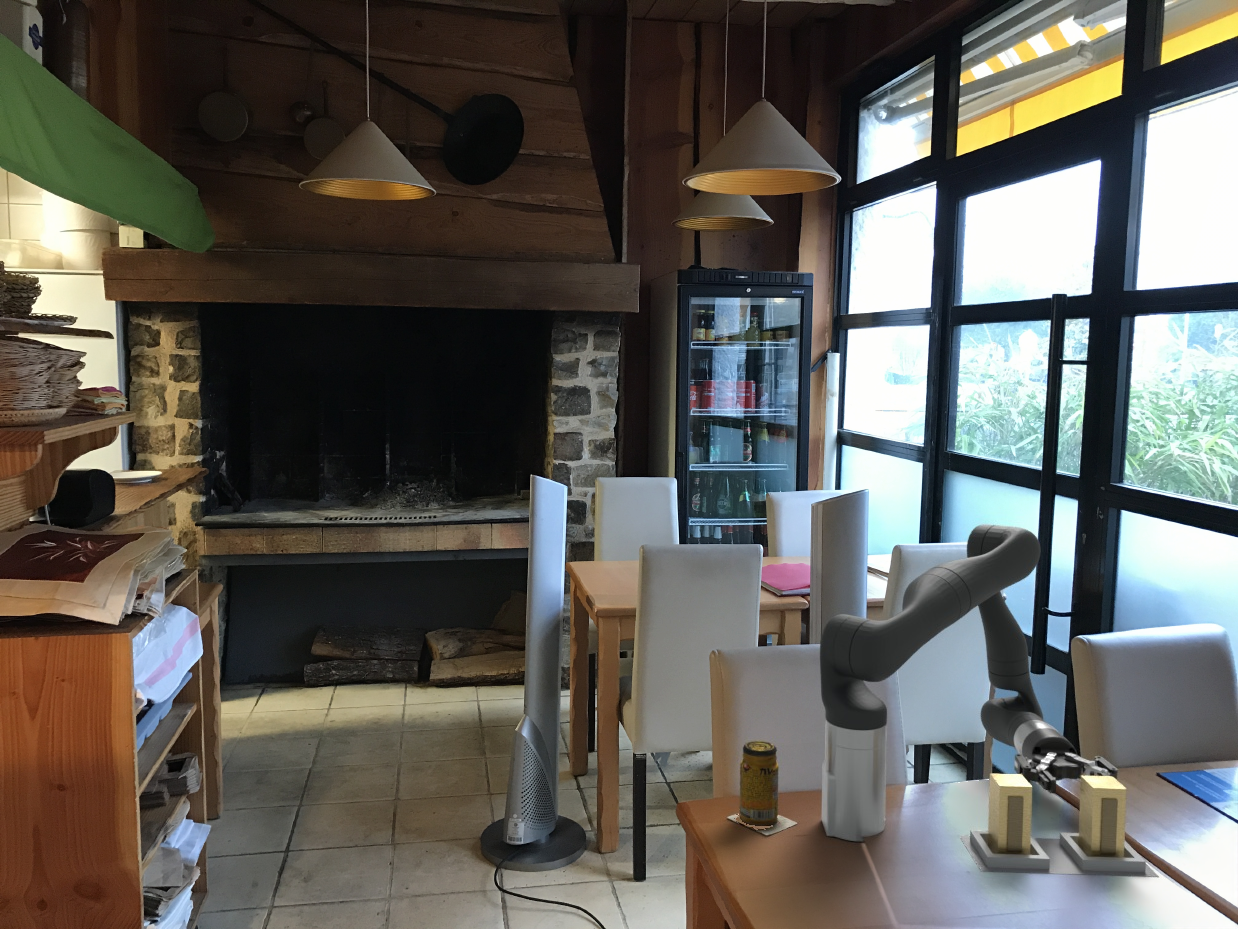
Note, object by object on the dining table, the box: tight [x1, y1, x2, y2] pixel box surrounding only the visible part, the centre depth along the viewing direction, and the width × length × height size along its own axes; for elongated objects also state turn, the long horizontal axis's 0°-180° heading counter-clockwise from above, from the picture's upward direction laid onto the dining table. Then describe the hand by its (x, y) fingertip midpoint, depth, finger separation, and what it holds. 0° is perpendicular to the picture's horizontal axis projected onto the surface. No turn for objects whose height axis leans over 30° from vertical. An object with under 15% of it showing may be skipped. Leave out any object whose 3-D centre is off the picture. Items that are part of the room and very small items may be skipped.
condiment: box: [726, 740, 798, 836], centre depth 155 cm, size 7×8×12 cm
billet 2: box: [1078, 775, 1127, 858], centre depth 141 cm, size 4×5×11 cm
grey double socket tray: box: [959, 829, 1160, 878], centre depth 142 cm, size 24×11×2 cm, turn 86°
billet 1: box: [987, 773, 1033, 855], centre depth 142 cm, size 4×5×11 cm
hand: (1082, 788), depth 148 cm, fingers open, 8 cm apart
